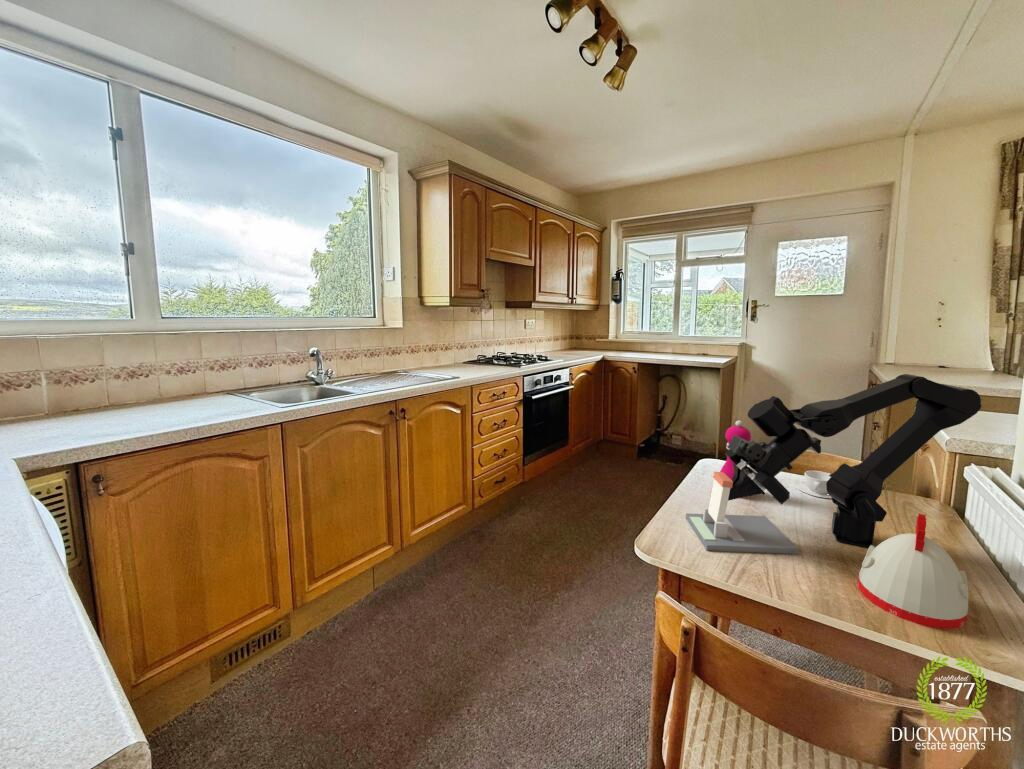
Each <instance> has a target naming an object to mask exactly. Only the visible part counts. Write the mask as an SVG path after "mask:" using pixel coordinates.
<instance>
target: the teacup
mask: <svg viewBox="0 0 1024 769" xmlns="http://www.w3.org/2000/svg"><path fill="white" fill-rule="evenodd" d="M830 474H831V473H829V472H825V471H820V470H807V471H805V472H804V482H803V483H799V484H797V485H796V486H797V489H798V490H800V491H801V492H804V493H805V494H807V495H811V496H814V497H818V498H824V499H832V498H831V496H830V495H827V494H828V492H827V485H826V483H827V481H828V480H829V479H830V478H831V477H830V476H829V475H830ZM806 487H808V488H809V489H810V490H811V491H812V492H810V491H809V490H806V489H807V488H806ZM814 492H815V493H814Z"/></svg>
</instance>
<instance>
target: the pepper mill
mask: <svg viewBox="0 0 1024 769" xmlns="http://www.w3.org/2000/svg"><path fill="white" fill-rule="evenodd" d="M743 425H744V423H743V421H742V420H737V421H735V424H734V425H733V426H730V427H728V428H727V429H726V431H725V439H726V441H727V443H726V449H727V451H728V450H729V449H728V448H727V447H728V445H729V444H730V442H731V440H732V438H733V437H734V435H736V436H738V437H740V438H742V439H745V440H747V441H749V442H751V441H752V435H751V434H752V433H751V431H750V430H749V429H748V428H746V427H745V426H743ZM733 463H734V462H733V461H732V460H731V459H730V458H729V457H728V456H727V457H726V460H725V463H724V464H723V465H722V467H721V469H720V471H719V472H723V473H724V474H725V475H727V476H728V477H729V478H730V479H731V480H732V478H733V476H734V467H733ZM734 464H735V463H734ZM735 465H736V464H735Z"/></svg>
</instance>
